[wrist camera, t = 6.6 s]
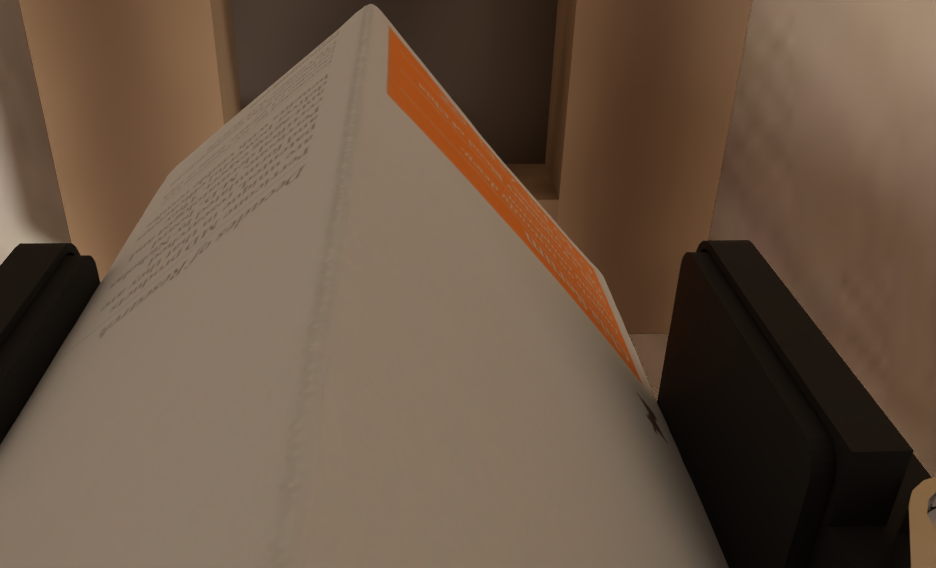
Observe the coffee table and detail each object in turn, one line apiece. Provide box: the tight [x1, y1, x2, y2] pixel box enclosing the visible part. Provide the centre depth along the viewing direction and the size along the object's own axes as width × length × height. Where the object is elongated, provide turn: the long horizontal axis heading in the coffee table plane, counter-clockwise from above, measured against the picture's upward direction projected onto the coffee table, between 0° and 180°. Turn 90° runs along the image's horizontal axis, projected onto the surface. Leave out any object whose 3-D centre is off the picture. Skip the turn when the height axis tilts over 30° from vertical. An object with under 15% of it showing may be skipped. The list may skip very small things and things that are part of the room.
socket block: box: [19, 0, 753, 334], centre depth 26 cm, size 20×20×4 cm
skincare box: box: [0, 4, 729, 568], centre depth 9 cm, size 6×4×12 cm
